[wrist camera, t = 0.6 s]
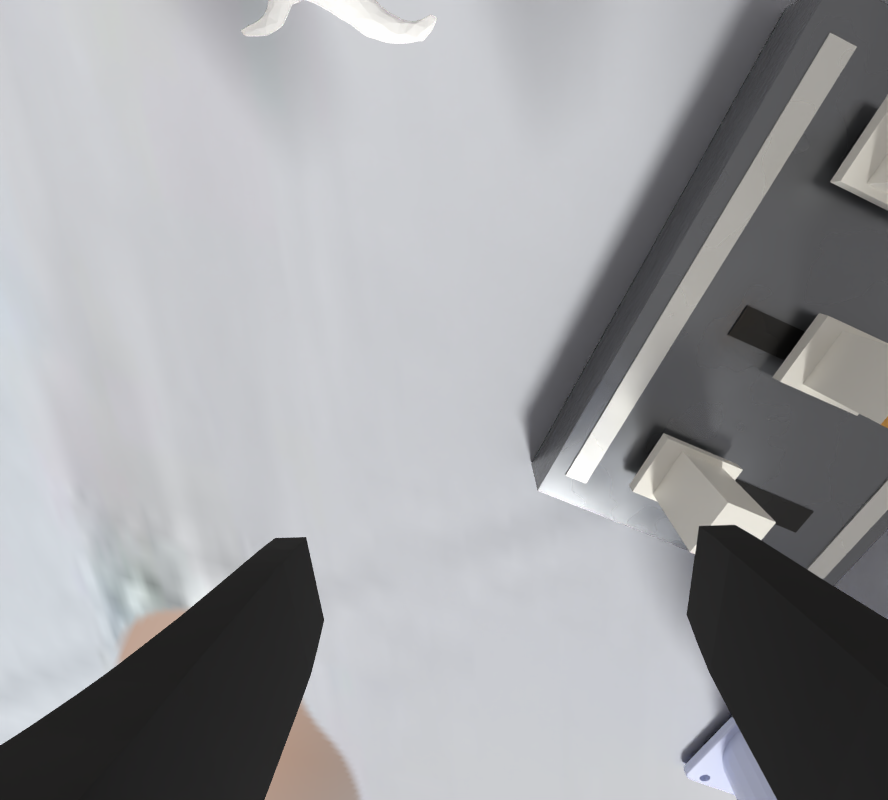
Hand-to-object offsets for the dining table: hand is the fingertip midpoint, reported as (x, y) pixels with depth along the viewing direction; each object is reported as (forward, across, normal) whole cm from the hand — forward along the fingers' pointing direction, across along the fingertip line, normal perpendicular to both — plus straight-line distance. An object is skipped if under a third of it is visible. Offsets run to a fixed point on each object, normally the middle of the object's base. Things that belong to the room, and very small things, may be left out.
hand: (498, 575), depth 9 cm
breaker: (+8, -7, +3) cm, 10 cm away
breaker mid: (+8, -11, -1) cm, 13 cm away
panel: (+10, -11, -1) cm, 15 cm away
